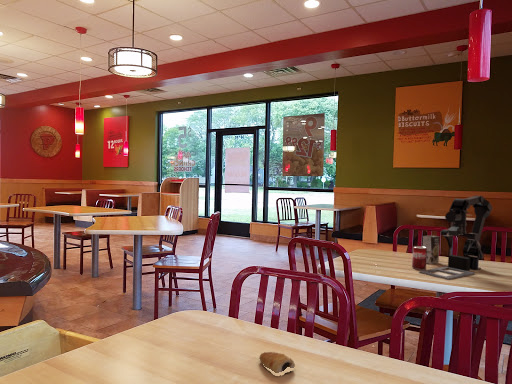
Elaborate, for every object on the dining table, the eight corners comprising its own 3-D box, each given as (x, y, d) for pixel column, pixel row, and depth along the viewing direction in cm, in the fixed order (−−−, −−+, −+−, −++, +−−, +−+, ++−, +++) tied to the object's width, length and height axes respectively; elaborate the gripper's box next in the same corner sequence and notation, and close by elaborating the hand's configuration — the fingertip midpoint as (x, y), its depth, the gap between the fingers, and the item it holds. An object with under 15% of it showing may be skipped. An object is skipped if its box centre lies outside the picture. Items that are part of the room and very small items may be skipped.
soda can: (425, 270, 209) (426, 249, 208) (410, 268, 213) (411, 247, 212) (427, 268, 215) (428, 247, 215) (413, 266, 219) (414, 245, 218)
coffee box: (431, 264, 227) (433, 237, 227) (421, 262, 232) (422, 235, 232) (439, 262, 233) (440, 236, 233) (428, 260, 238) (430, 234, 238)
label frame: (445, 267, 219) (445, 266, 219) (474, 274, 205) (474, 272, 205) (419, 272, 204) (419, 271, 204) (448, 279, 191) (448, 278, 191)
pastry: (252, 363, 97) (253, 348, 97) (272, 357, 101) (273, 342, 101) (277, 379, 89) (277, 363, 89) (297, 371, 93) (298, 356, 93)
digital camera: (471, 270, 216) (471, 257, 216) (466, 271, 212) (467, 258, 212) (452, 266, 224) (453, 254, 224) (447, 267, 221) (448, 255, 221)
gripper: (435, 220, 213) (434, 248, 213) (470, 224, 197) (468, 254, 198) (446, 219, 219) (445, 246, 220) (480, 223, 204) (479, 252, 204)
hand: (458, 250), depth 210 cm, fingers open, 9 cm apart
